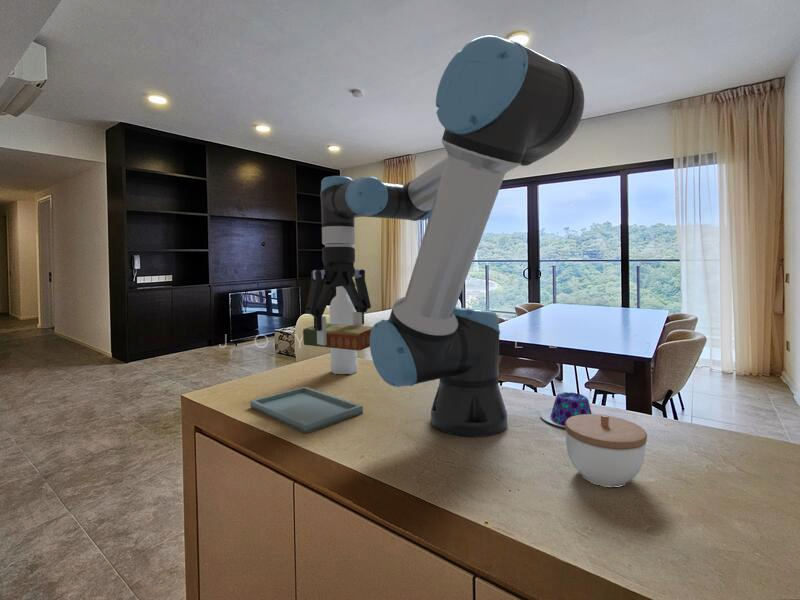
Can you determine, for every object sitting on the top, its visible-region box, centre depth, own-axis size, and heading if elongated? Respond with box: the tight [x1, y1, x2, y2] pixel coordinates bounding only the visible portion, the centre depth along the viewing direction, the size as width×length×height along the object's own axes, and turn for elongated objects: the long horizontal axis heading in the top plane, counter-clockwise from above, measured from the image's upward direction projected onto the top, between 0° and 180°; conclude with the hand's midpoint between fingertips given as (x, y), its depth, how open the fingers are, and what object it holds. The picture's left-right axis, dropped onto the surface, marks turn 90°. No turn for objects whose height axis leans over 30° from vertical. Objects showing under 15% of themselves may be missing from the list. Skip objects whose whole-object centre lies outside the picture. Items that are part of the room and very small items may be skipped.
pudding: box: [540, 392, 595, 428], centre depth 84 cm, size 12×12×5 cm
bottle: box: [329, 286, 358, 375], centre depth 123 cm, size 8×8×30 cm
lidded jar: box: [564, 413, 648, 487], centre depth 61 cm, size 11×11×9 cm
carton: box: [302, 322, 373, 351], centre depth 98 cm, size 8×16×4 cm, turn 63°
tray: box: [249, 386, 364, 434], centre depth 91 cm, size 22×14×2 cm
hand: (340, 341), depth 98 cm, fingers closed on carton, 10 cm apart
